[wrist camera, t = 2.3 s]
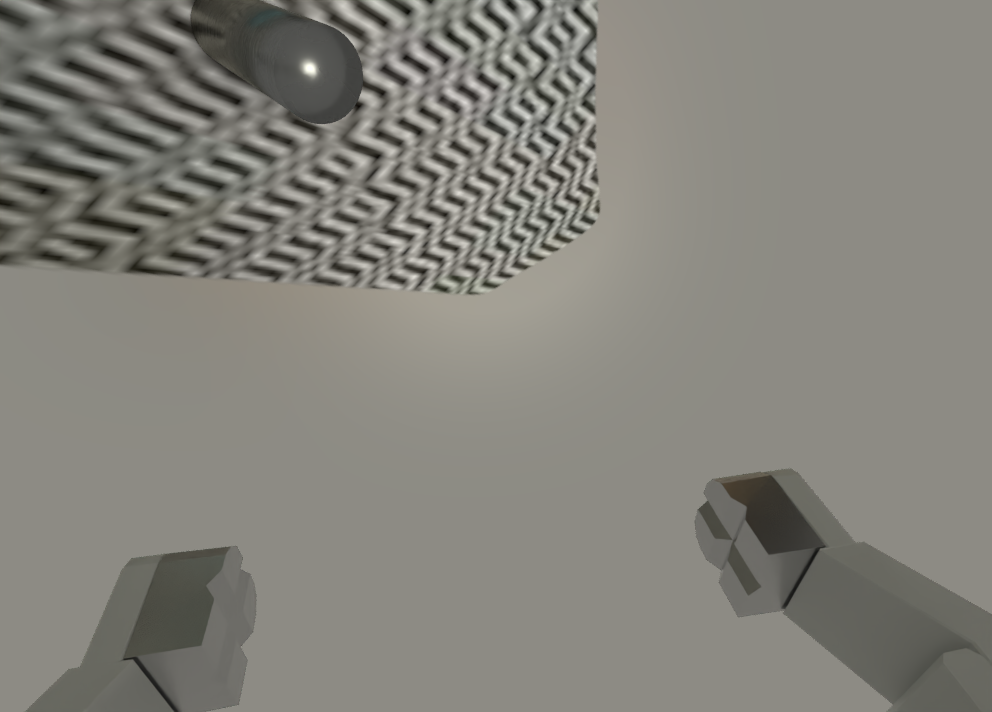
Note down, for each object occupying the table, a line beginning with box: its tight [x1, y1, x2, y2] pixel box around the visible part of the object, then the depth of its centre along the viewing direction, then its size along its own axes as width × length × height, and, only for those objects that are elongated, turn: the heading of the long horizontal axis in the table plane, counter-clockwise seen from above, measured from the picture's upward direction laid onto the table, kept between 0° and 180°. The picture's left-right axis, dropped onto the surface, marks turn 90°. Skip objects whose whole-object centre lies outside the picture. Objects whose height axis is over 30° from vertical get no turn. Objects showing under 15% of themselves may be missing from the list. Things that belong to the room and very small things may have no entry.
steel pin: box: [191, 0, 363, 124], centre depth 28 cm, size 4×4×14 cm
